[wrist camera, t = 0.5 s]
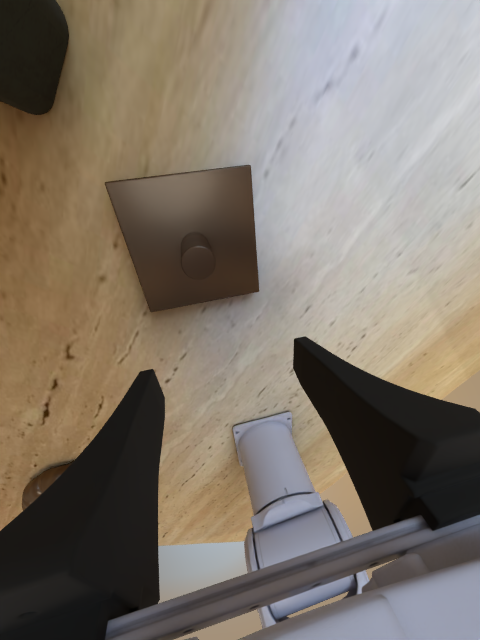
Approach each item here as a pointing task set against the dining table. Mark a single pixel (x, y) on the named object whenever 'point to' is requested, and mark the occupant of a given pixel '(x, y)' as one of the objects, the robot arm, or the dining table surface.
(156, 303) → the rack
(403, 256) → the dining table surface
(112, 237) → the dining table surface
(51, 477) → the segmented ring
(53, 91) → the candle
